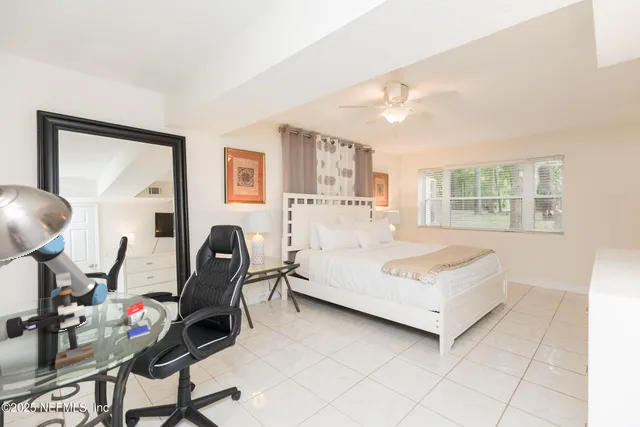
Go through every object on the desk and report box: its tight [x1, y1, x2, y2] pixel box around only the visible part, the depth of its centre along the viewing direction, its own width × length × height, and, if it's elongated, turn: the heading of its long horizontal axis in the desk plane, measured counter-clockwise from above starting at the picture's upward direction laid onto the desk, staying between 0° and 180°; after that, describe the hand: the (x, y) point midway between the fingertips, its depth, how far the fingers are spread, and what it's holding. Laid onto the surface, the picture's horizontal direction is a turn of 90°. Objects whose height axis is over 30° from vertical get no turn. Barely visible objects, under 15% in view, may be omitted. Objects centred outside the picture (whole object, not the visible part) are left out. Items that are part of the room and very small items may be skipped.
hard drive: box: [128, 324, 151, 340], centre depth 146 cm, size 2×8×12 cm
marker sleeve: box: [58, 302, 80, 329], centre depth 125 cm, size 6×6×8 cm
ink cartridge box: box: [125, 300, 149, 326], centre depth 162 cm, size 2×11×10 cm, turn 168°
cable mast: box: [54, 272, 95, 370], centre depth 125 cm, size 14×12×36 cm
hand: (84, 309), depth 128 cm, fingers closed on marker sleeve, 6 cm apart
